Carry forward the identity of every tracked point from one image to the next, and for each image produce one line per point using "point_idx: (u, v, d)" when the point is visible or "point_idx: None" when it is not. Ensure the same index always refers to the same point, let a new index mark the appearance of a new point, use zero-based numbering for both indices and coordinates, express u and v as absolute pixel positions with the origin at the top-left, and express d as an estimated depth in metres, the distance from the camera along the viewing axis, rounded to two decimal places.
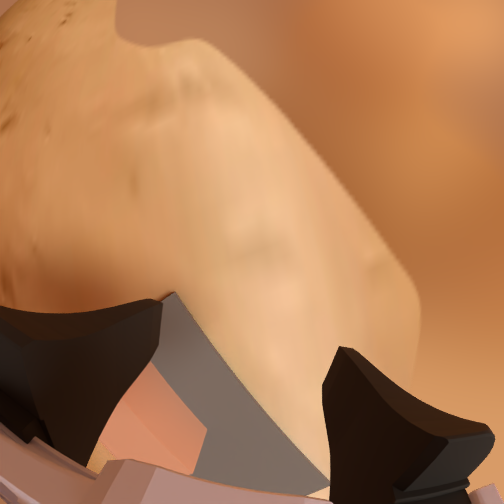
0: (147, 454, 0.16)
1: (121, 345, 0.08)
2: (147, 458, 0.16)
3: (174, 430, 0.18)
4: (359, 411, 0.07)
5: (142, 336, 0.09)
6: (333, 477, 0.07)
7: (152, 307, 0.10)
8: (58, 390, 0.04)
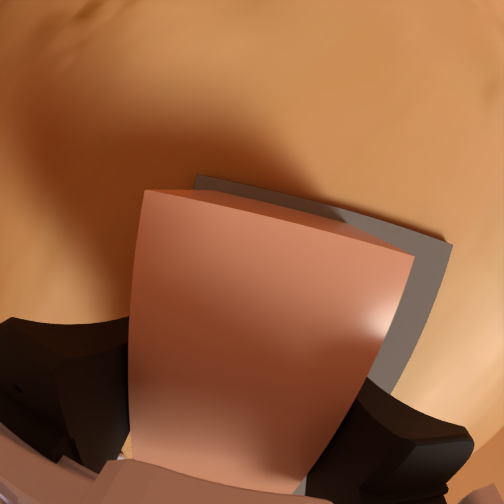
0: (234, 482, 0.07)
1: None
2: None
3: None
4: None
5: None
6: (309, 475, 0.07)
7: None
8: (88, 406, 0.04)
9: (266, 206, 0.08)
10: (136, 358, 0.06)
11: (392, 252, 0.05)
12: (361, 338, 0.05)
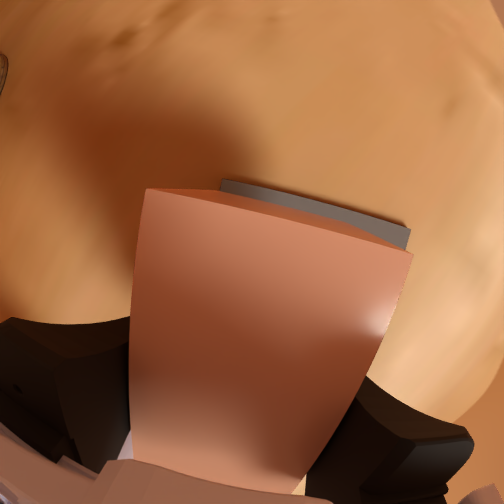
0: (234, 481, 0.07)
1: None
2: (221, 483, 0.07)
3: None
4: None
5: None
6: (309, 475, 0.07)
7: None
8: (88, 406, 0.04)
9: (266, 205, 0.08)
10: (137, 356, 0.06)
11: (391, 250, 0.05)
12: (360, 336, 0.05)
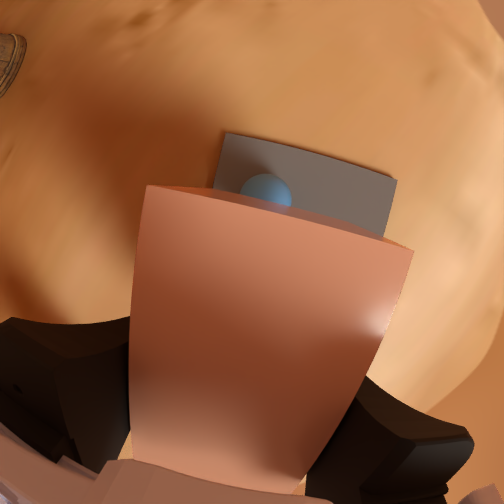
0: (234, 480, 0.07)
1: None
2: (221, 483, 0.07)
3: None
4: None
5: None
6: (309, 475, 0.07)
7: None
8: (88, 406, 0.04)
9: (266, 203, 0.08)
10: (137, 354, 0.06)
11: (392, 247, 0.05)
12: (361, 333, 0.05)
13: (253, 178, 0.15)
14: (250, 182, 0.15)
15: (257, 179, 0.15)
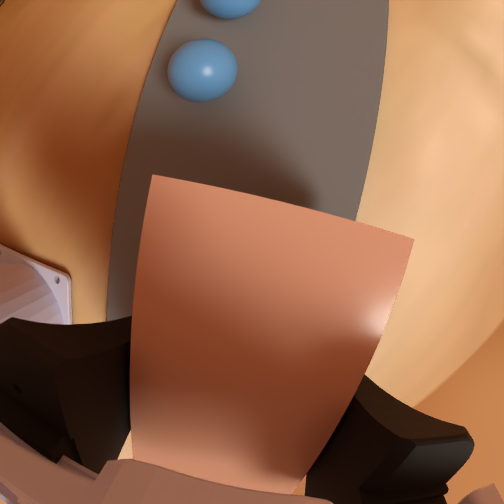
0: (236, 477, 0.07)
1: None
2: (223, 481, 0.07)
3: None
4: None
5: None
6: (309, 475, 0.07)
7: None
8: (88, 406, 0.04)
9: None
10: (139, 345, 0.06)
11: (392, 235, 0.05)
12: (364, 321, 0.06)
13: None
14: None
15: None
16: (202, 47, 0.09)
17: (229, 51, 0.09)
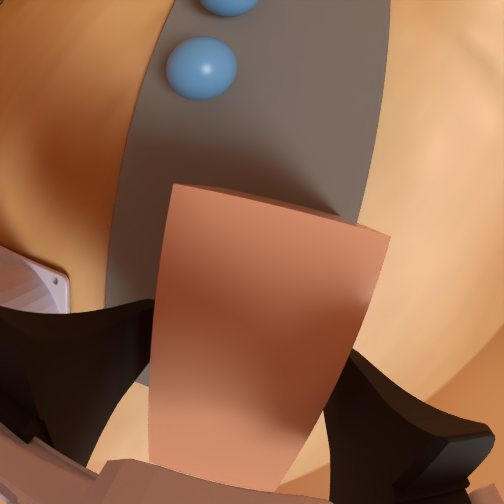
0: (241, 448, 0.08)
1: (121, 345, 0.08)
2: (230, 452, 0.08)
3: None
4: (359, 411, 0.07)
5: (142, 336, 0.09)
6: (333, 477, 0.07)
7: (152, 307, 0.10)
8: (58, 390, 0.04)
9: (269, 200, 0.10)
10: (160, 326, 0.07)
11: (371, 233, 0.06)
12: (349, 304, 0.07)
13: None
14: None
15: None
16: (201, 44, 0.09)
17: (229, 48, 0.09)
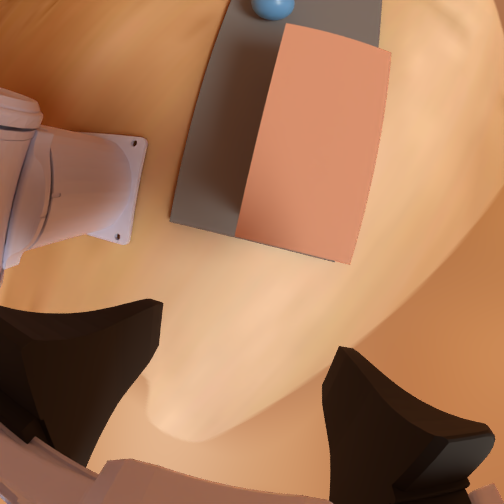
0: (325, 190, 0.12)
1: (121, 345, 0.08)
2: (315, 197, 0.12)
3: None
4: (359, 411, 0.07)
5: (142, 336, 0.09)
6: (333, 477, 0.07)
7: (152, 307, 0.10)
8: (58, 390, 0.04)
9: None
10: (275, 85, 0.11)
11: (381, 50, 0.10)
12: (378, 78, 0.11)
13: None
14: None
15: None
16: None
17: None
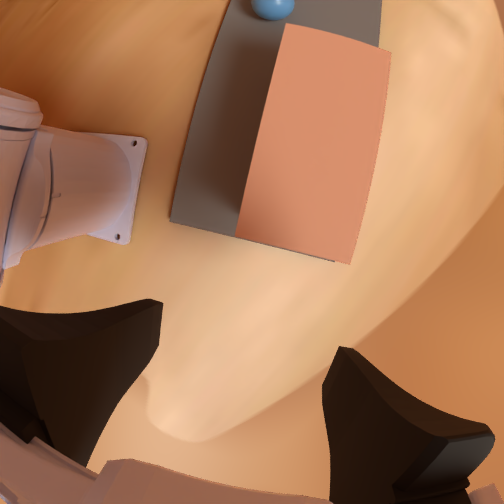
0: (325, 190, 0.12)
1: (121, 345, 0.08)
2: (315, 197, 0.12)
3: None
4: (359, 411, 0.07)
5: (142, 336, 0.09)
6: (333, 477, 0.07)
7: (152, 307, 0.10)
8: (58, 390, 0.04)
9: None
10: (275, 85, 0.11)
11: (381, 49, 0.10)
12: (378, 78, 0.11)
13: None
14: None
15: None
16: None
17: None
